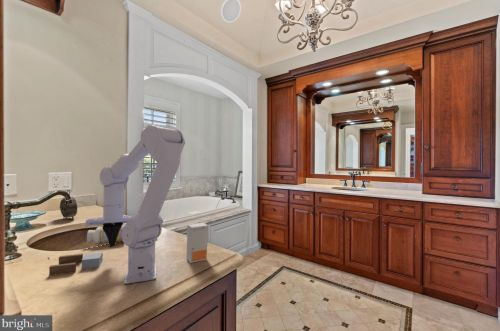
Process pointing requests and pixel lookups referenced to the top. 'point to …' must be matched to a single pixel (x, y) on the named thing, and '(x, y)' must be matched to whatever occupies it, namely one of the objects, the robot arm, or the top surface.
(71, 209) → the alarm clock
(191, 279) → the top surface
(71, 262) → the channel
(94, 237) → the supplement bottle
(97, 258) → the block
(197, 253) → the skincare box
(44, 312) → the top surface
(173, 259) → the top surface
